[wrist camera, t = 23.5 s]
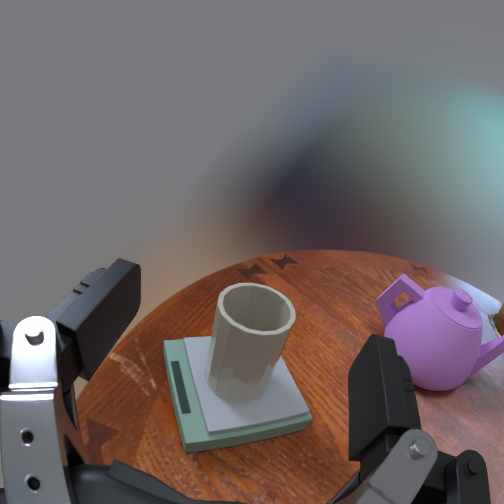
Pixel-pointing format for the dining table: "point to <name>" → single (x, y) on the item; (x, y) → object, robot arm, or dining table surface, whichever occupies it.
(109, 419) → the dining table surface
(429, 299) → the teapot
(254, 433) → the scale
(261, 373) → the tumbler
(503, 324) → the vessel
